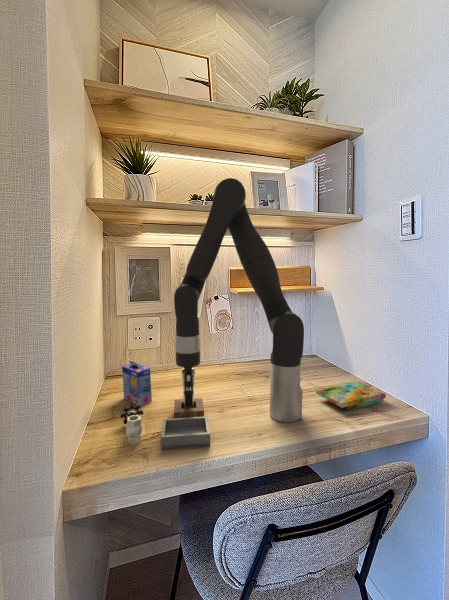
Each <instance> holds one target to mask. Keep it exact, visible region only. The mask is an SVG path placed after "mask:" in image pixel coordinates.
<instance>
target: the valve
mask: <svg viewBox="0 0 449 600" xmlns="http://www.w3.org/2000/svg"><path fill="white" fill-rule="evenodd" d="M134 405H135V404H134V403H132V402H130V403H129V407H127V406H123V408H122V410H123V412H124V413H120V415H119V416H120V419H123V418H124V419H123V420H122V421H123V424H124V425H127V426H126V427H125V433H126V434H125V435H126V436H127V443H128V445H134V446H135V445H137V444H139V443H141V442H142V432H143V426H142V424H141V423H142V422H141V421H142V419H141V418H142V417H141V416H143V415H144V411H143V410H140V409H141V406H140V405H136V406H134ZM133 410H135V411H136V412H135V411H133ZM129 411H130V412H129ZM140 415H141V416H140Z"/></svg>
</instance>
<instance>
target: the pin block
mask: <svg viewBox="0 0 449 600" xmlns="http://www.w3.org/2000/svg"><path fill="white" fill-rule="evenodd" d="M173 404H174V405H173V419H174V418H190V417H205V407H204V401H203V398H201V397H198V398H194V408H185V409H184V398H181V399H178V398H177V399H174V403H173Z"/></svg>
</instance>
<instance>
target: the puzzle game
mask: <svg viewBox="0 0 449 600" xmlns="http://www.w3.org/2000/svg"><path fill="white" fill-rule="evenodd" d="M315 393H316V395H318V396H320V397H322V398H324V399H325V400H327V401H329V402H330V403H333V404H334V405H336V406H338V407H339V408H342V409H343V410H345V411H350V410H351V411H352V410H355V409H359V408H364V407H367V406H370V405H376V404H380V403H381V402H383V401H384V400H385V399H386V396H387V394H386V393H385V392H383V391H380V390H378V389H376V388H373V387H371V386H369V385H366V384H363V383H361V382H359V381H355V382H349V383H345V384H340V385H336V386H330V387H326V388H322V389H316V390H315Z"/></svg>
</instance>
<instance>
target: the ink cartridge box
mask: <svg viewBox="0 0 449 600" xmlns="http://www.w3.org/2000/svg"><path fill="white" fill-rule="evenodd" d="M128 361H129V364H125V365H122V367H121V369H122V387H123V388H122V390H123V391H122V392H123V399H124V400H126V401H128V402H130V403H133V404H134V405H136V406H137V405H140V407H141V406H143V405H145V404H149V403H152V401H153V398H152V397H153V396H152V395H153V394H152V381H151V379H152V377H151V368H150V367H148V366H144V365H141V364H139V363H136V362H135V361H132V360H128Z"/></svg>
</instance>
